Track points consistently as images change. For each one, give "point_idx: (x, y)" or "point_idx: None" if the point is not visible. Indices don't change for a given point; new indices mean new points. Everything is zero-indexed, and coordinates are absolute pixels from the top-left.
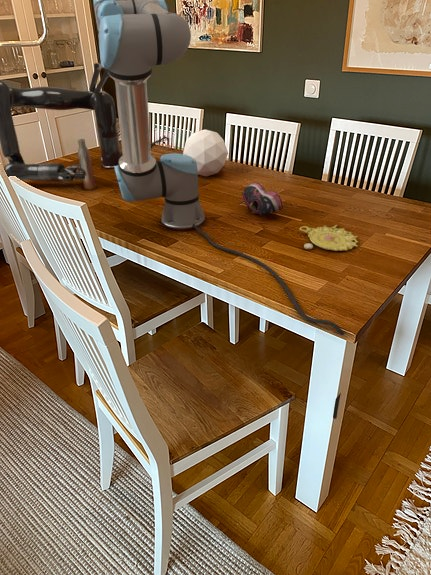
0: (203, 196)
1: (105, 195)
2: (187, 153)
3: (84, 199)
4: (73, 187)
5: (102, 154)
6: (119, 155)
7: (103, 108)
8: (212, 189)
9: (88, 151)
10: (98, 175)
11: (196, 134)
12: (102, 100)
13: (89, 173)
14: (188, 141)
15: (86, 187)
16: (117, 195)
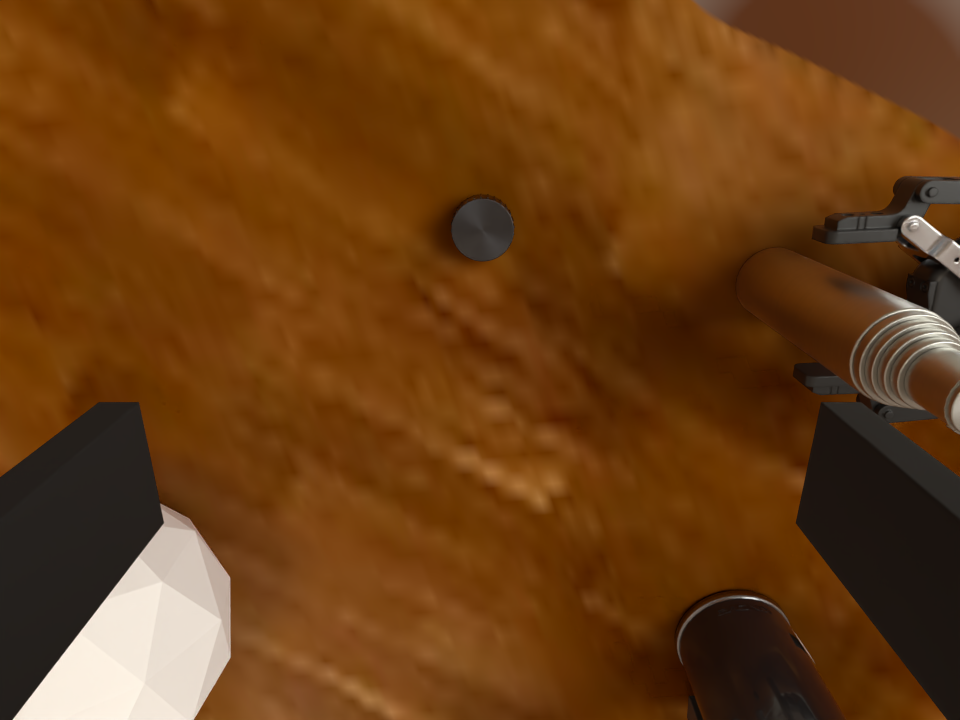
0: (10, 203)
1: (630, 157)
2: (139, 567)
3: (751, 69)
4: (881, 277)
5: (803, 658)
6: (696, 678)
7: (831, 510)
8: (9, 323)
9: (865, 377)
10: (773, 485)
11: (19, 717)
12: (927, 634)
13: (794, 283)
14: (113, 664)
15: (788, 250)
16: (552, 165)
